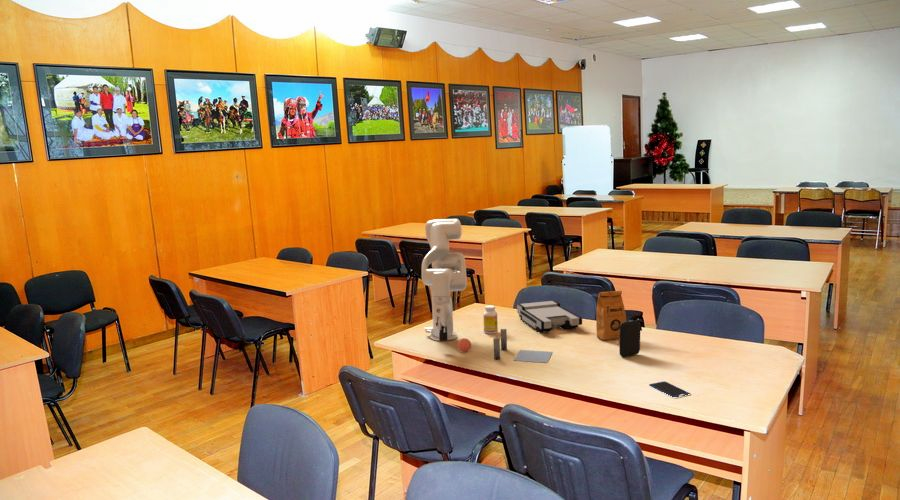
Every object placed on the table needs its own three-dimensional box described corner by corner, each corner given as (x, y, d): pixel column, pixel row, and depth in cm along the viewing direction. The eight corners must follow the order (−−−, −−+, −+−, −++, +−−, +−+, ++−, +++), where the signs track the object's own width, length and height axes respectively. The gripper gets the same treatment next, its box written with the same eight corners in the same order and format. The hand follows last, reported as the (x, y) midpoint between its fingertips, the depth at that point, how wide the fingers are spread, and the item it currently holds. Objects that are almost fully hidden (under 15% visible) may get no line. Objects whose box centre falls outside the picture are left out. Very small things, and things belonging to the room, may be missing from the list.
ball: (456, 353, 263) (455, 340, 262) (460, 349, 268) (459, 336, 267) (469, 354, 261) (468, 341, 260) (473, 350, 266) (472, 337, 266)
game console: (541, 336, 284) (541, 319, 283) (517, 319, 315) (517, 304, 314) (582, 332, 289) (582, 315, 288) (554, 315, 320) (554, 300, 318)
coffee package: (628, 340, 272) (629, 292, 269) (601, 342, 271) (601, 294, 268) (620, 334, 282) (620, 287, 278) (594, 336, 281) (594, 289, 277)
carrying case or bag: (639, 352, 255) (639, 318, 253) (643, 354, 252) (644, 320, 250) (617, 356, 251) (617, 321, 249) (622, 358, 249) (622, 323, 246)
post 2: (500, 350, 265) (499, 330, 264) (501, 348, 267) (501, 328, 266) (506, 350, 264) (505, 330, 263) (507, 348, 267) (507, 328, 265)
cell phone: (674, 399, 207) (674, 397, 207) (648, 386, 220) (648, 384, 220) (692, 396, 210) (692, 394, 209) (664, 382, 222) (664, 380, 222)
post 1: (493, 360, 253) (492, 339, 251) (494, 358, 255) (494, 337, 254) (499, 360, 252) (498, 339, 251) (500, 358, 254) (500, 337, 253)
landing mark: (513, 360, 251) (513, 360, 251) (520, 350, 264) (520, 349, 264) (547, 363, 247) (547, 362, 247) (552, 352, 260) (552, 351, 260)
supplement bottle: (496, 334, 289) (496, 308, 287) (482, 334, 290) (482, 308, 288) (498, 330, 295) (497, 304, 293) (484, 330, 296) (484, 304, 294)
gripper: (444, 302, 255) (446, 345, 257) (455, 296, 270) (456, 336, 271) (427, 302, 258) (429, 344, 260) (439, 296, 272) (440, 336, 274)
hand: (443, 340), depth 266 cm, fingers closed
